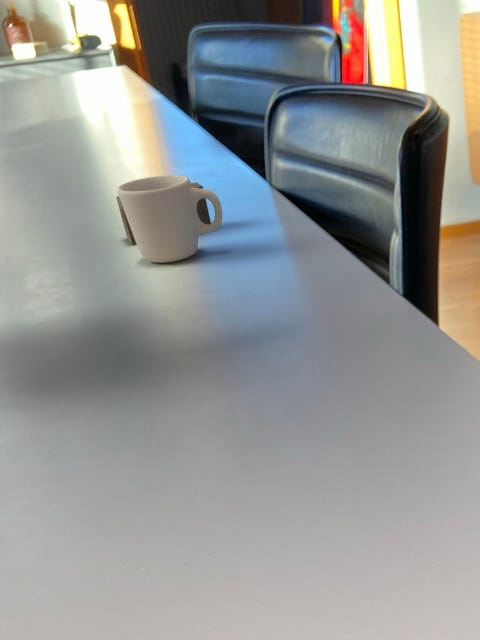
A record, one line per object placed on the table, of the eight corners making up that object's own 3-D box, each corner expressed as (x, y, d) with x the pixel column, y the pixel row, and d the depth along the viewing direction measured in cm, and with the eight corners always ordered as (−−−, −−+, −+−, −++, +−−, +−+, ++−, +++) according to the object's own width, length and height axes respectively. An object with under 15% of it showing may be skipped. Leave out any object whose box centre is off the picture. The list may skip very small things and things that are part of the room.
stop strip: (132, 244, 123) (120, 201, 121) (127, 239, 126) (115, 196, 123) (212, 228, 127) (203, 186, 124) (206, 224, 129) (196, 182, 126)
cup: (233, 241, 121) (218, 169, 116) (227, 260, 114) (211, 184, 110) (142, 251, 120) (123, 179, 116) (131, 270, 114) (110, 195, 109)
